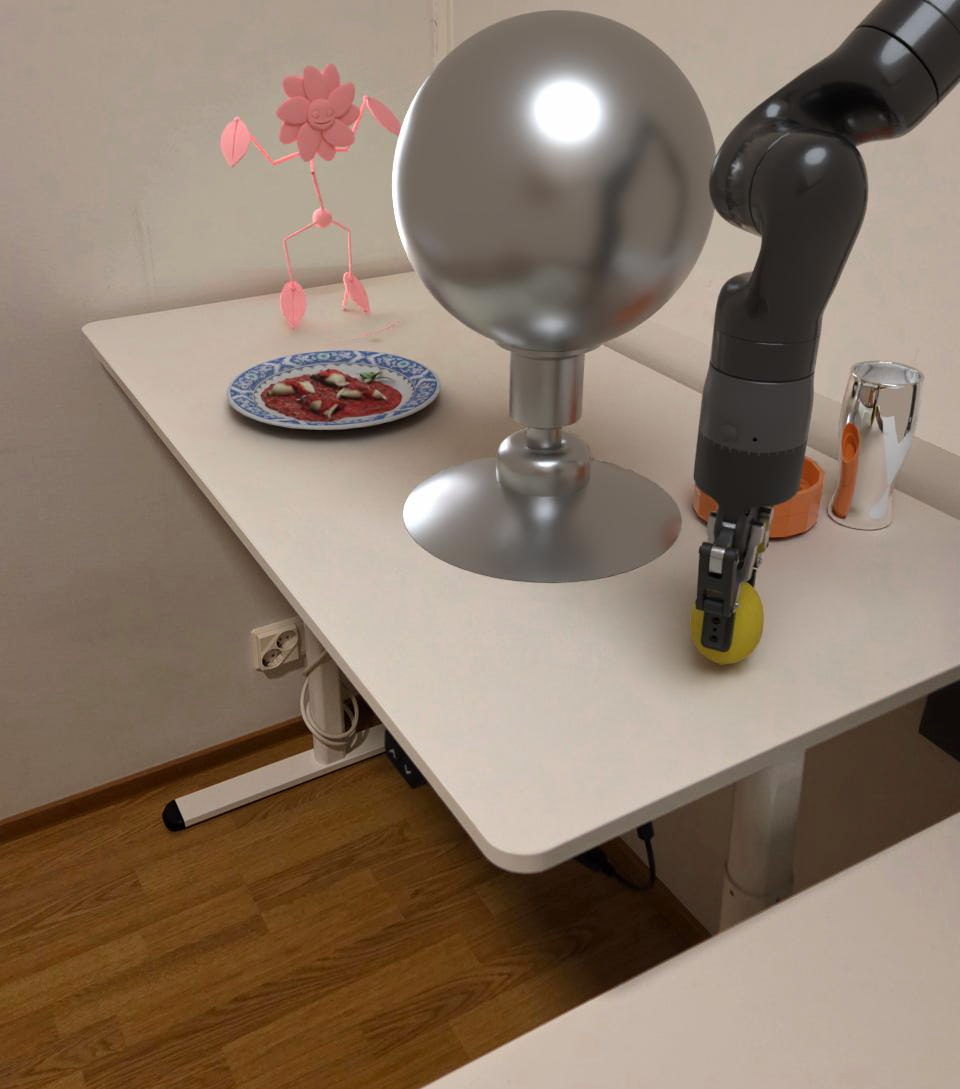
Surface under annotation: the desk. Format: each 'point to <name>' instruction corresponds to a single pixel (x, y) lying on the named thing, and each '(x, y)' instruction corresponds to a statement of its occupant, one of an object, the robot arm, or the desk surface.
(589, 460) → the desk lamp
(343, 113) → the figurine
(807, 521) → the bowl
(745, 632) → the lemon
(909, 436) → the beer glass
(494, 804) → the desk surface
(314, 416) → the ceramic plate
